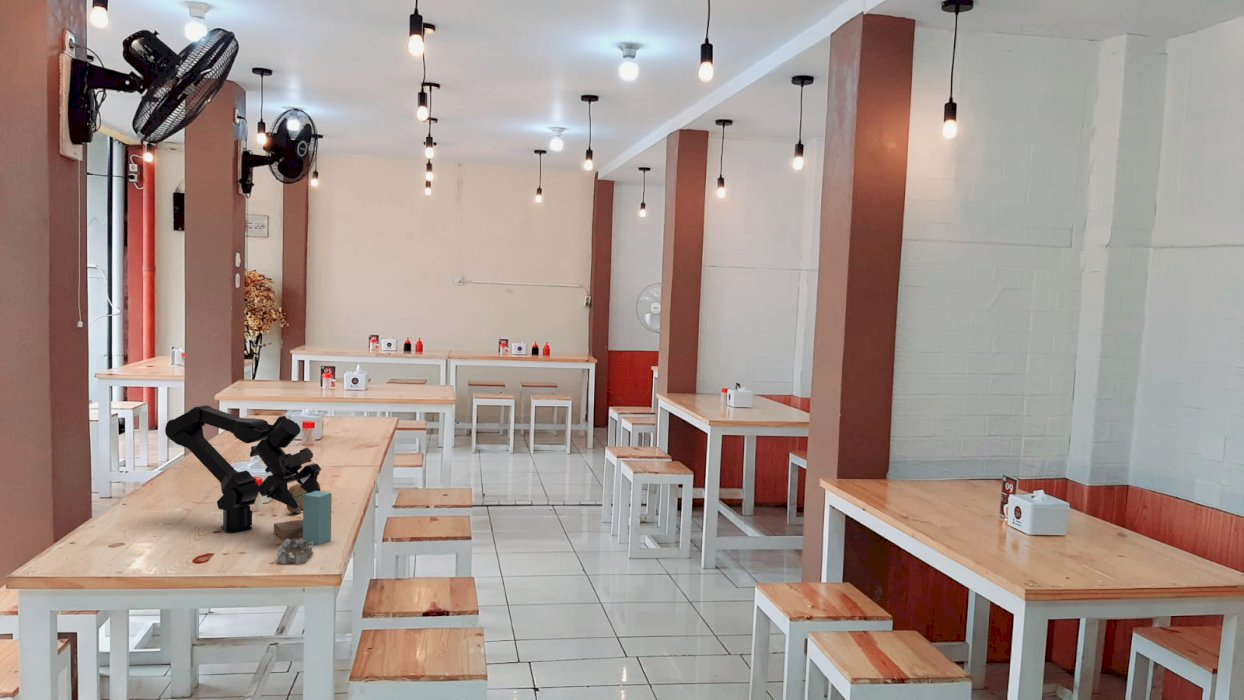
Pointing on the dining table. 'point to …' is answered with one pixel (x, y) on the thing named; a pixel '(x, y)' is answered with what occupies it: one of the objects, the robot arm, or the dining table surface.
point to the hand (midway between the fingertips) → (308, 503)
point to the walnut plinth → (289, 529)
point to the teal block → (317, 517)
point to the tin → (298, 497)
